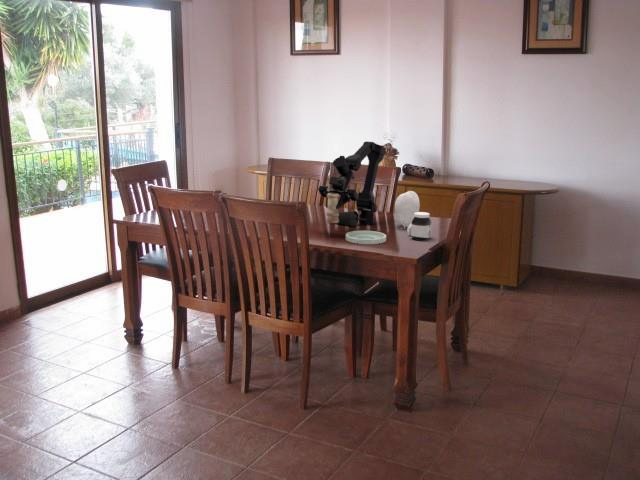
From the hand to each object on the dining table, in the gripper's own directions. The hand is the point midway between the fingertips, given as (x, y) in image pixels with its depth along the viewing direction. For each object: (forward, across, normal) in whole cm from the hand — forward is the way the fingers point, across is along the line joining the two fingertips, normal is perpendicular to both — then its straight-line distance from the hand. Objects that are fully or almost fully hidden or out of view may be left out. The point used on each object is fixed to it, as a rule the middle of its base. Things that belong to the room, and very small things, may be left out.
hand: (331, 208), depth 318 cm
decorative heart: (-18, +20, +37) cm, 46 cm away
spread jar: (-6, +33, +25) cm, 42 cm away
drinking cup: (-11, -16, +27) cm, 33 cm away
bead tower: (+4, 0, +6) cm, 7 cm away
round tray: (+6, +16, +12) cm, 21 cm away
